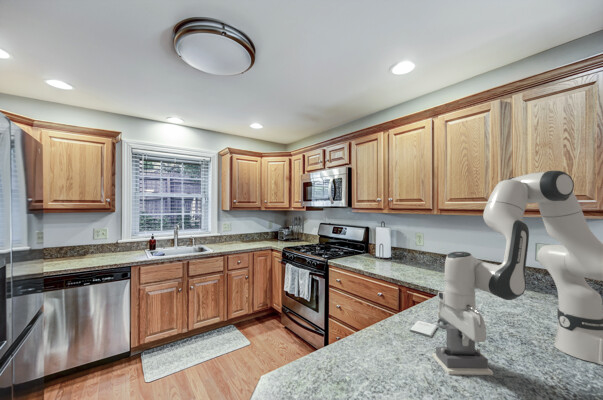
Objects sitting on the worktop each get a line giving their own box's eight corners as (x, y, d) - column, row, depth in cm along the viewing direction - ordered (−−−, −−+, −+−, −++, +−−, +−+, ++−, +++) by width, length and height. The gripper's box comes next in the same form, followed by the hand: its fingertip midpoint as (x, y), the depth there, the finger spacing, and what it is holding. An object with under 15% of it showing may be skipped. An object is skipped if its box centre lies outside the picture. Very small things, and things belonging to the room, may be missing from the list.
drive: (470, 355, 86) (469, 325, 87) (475, 359, 84) (474, 329, 84) (446, 355, 86) (446, 325, 87) (450, 359, 84) (450, 328, 84)
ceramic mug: (448, 320, 120) (447, 304, 120) (465, 328, 112) (464, 310, 113) (432, 324, 116) (431, 307, 116) (448, 332, 108) (448, 314, 109)
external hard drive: (409, 333, 108) (417, 323, 118) (430, 339, 103) (437, 328, 113) (409, 329, 109) (417, 319, 118) (430, 335, 103) (437, 324, 113)
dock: (471, 356, 90) (471, 341, 90) (493, 374, 80) (492, 358, 80) (432, 356, 90) (432, 341, 90) (448, 374, 80) (448, 357, 80)
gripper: (491, 312, 76) (493, 360, 75) (451, 291, 96) (452, 328, 95) (470, 312, 76) (471, 359, 75) (435, 290, 96) (435, 328, 95)
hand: (460, 341), depth 85 cm, fingers closed on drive, 2 cm apart
